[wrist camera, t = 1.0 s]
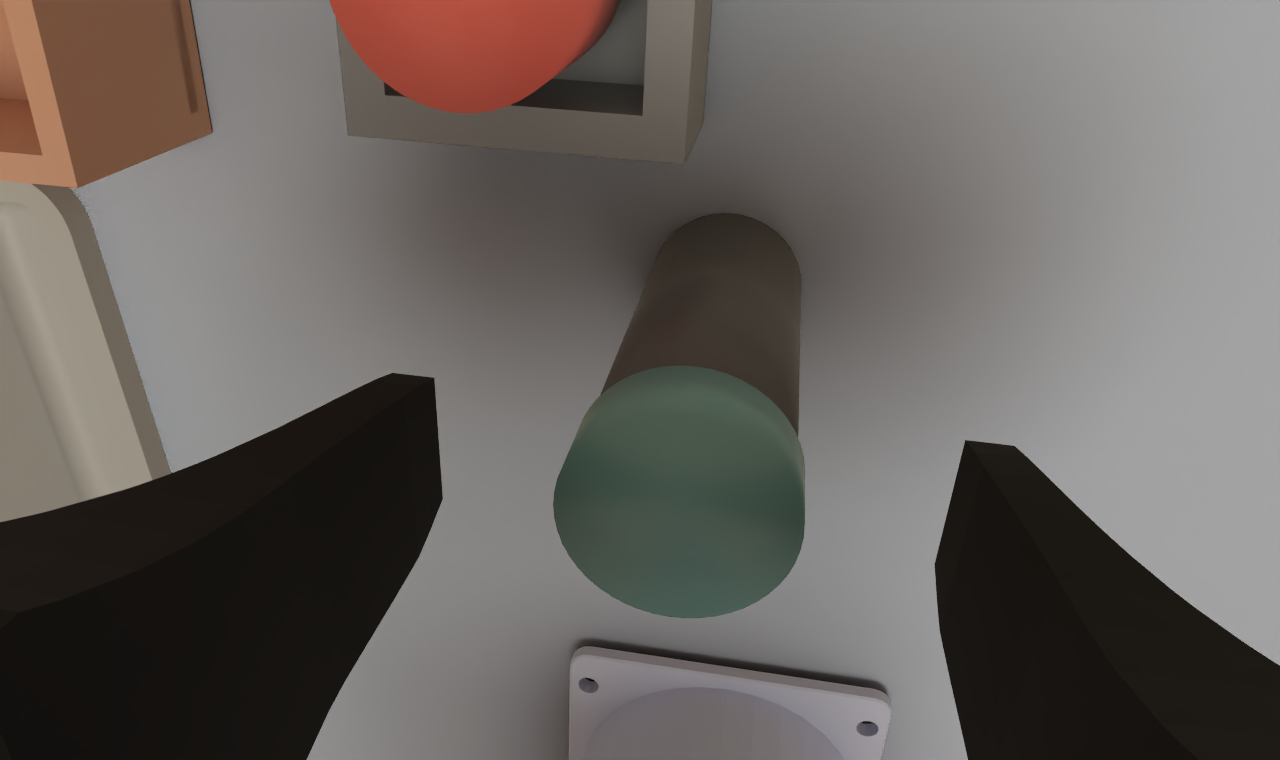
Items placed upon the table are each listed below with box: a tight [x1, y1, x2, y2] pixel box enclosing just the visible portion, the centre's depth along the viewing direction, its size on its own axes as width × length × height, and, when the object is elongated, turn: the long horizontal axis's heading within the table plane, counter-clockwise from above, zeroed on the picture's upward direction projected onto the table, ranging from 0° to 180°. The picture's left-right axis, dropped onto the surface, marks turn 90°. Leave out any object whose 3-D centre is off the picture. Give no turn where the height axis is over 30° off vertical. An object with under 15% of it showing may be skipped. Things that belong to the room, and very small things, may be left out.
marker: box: [553, 214, 805, 618], centre depth 15 cm, size 3×3×8 cm
